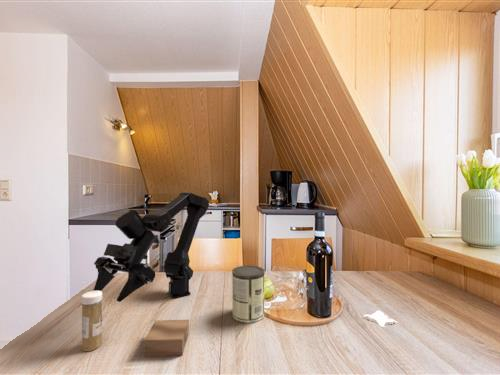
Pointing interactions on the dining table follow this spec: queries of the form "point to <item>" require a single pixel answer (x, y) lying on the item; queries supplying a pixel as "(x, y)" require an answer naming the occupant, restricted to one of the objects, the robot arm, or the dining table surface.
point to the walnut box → (166, 338)
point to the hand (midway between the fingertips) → (105, 298)
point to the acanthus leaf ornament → (379, 318)
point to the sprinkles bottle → (91, 320)
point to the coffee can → (248, 293)
